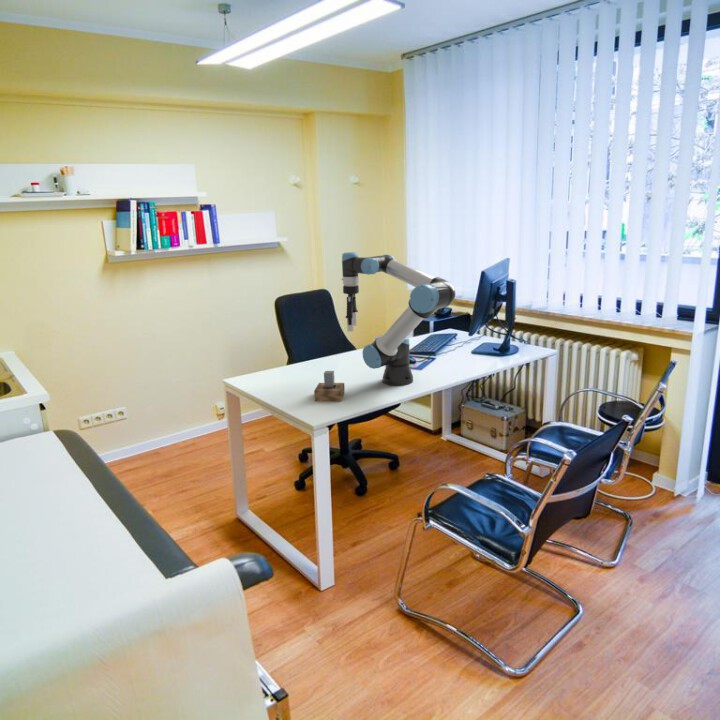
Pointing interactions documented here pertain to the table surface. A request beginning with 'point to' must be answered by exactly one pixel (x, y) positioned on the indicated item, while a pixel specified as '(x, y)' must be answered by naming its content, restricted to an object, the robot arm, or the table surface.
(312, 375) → the table surface
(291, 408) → the table surface
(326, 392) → the brown square hole block
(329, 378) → the metal peg
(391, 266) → the robot arm
